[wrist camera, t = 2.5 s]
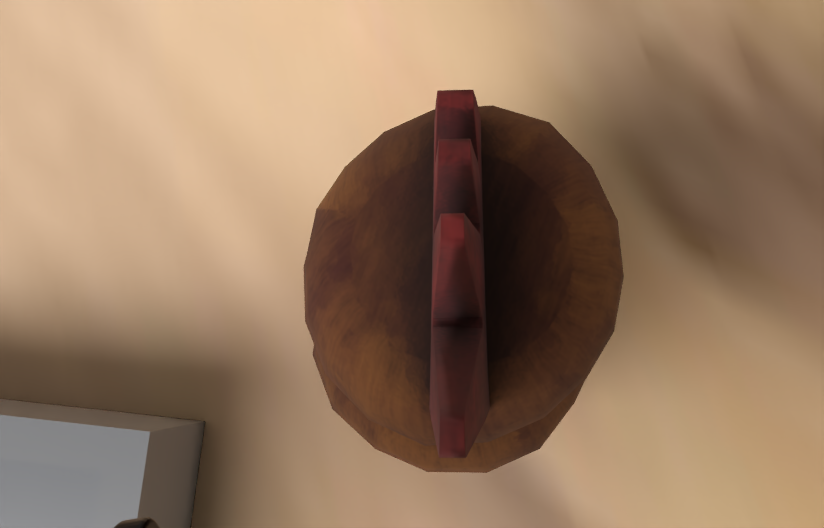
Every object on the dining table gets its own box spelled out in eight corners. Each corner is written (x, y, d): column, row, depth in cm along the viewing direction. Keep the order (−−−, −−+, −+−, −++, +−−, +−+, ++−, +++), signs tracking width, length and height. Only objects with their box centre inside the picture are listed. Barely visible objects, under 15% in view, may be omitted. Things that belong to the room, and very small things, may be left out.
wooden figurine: (519, 477, 19) (690, 835, 4) (324, 395, 20) (-97, 461, 5) (606, 246, 20) (1003, -120, 5) (415, 174, 21) (277, -326, 6)
